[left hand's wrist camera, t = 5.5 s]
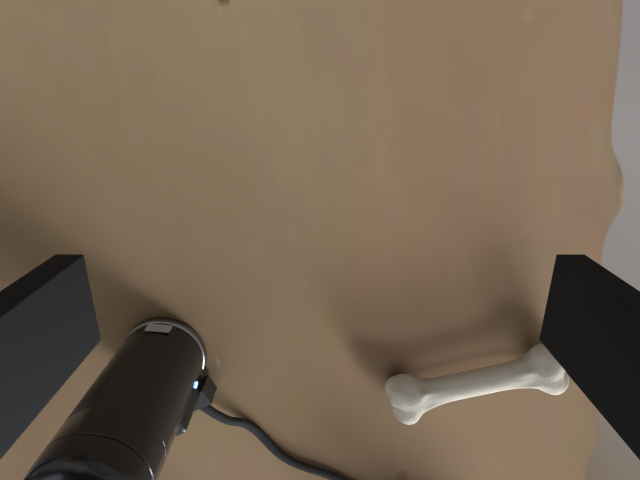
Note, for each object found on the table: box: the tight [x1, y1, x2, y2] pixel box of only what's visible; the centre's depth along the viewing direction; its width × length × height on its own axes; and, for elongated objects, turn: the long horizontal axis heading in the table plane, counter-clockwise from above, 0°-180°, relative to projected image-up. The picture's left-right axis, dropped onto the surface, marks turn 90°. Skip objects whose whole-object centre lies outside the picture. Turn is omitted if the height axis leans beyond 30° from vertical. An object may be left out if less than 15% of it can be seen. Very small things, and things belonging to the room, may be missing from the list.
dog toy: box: [385, 344, 569, 425], centre depth 50 cm, size 20×6×5 cm, turn 105°
